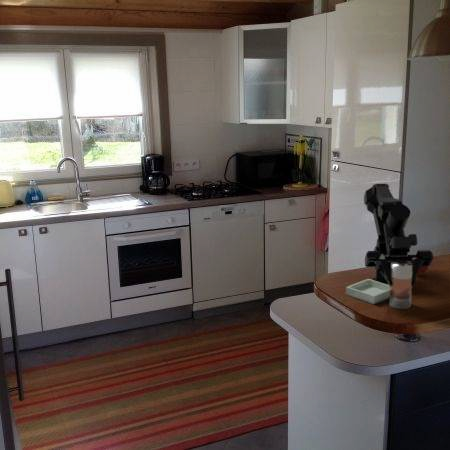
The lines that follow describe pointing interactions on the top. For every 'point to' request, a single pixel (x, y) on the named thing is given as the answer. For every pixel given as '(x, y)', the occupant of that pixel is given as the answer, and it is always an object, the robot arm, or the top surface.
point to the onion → (421, 270)
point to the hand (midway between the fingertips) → (401, 285)
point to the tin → (401, 284)
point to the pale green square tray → (369, 291)
